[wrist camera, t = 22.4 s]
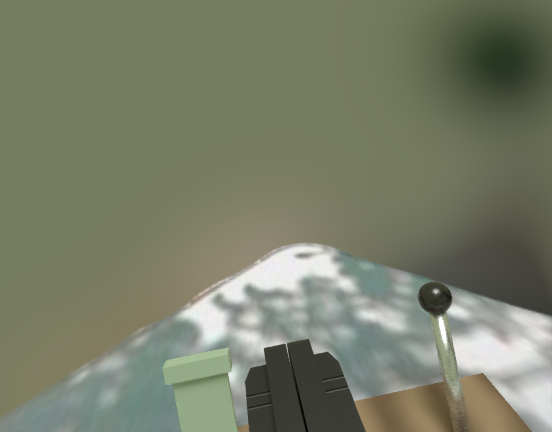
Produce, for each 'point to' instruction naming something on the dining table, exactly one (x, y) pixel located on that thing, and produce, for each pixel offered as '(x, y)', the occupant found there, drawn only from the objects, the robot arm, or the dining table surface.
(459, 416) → the steel toggle lever
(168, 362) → the sage-green paddle lever
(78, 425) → the dining table surface
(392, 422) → the walnut switch board
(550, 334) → the dining table surface
